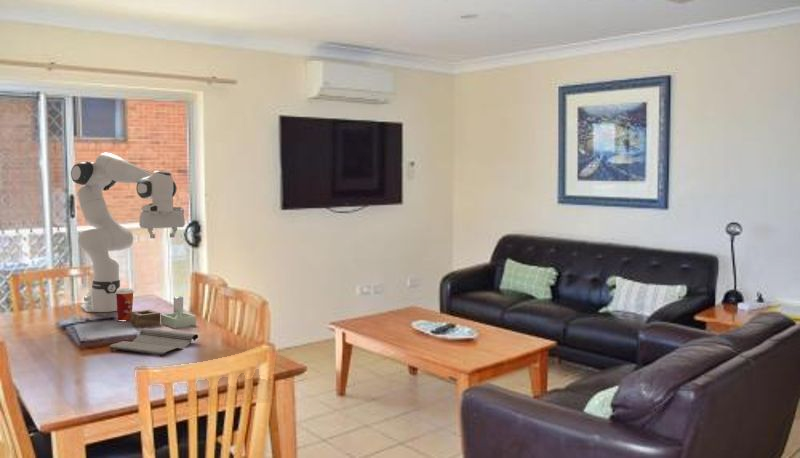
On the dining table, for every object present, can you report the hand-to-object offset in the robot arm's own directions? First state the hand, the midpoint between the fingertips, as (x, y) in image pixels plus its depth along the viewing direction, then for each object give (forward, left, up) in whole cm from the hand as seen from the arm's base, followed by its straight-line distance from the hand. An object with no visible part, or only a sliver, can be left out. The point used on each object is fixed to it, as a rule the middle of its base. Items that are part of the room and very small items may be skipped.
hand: (162, 237), depth 299 cm
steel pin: (+14, 0, -36) cm, 39 cm away
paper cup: (-7, -14, -37) cm, 40 cm away
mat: (+44, -26, -38) cm, 63 cm away
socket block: (+5, -10, -37) cm, 39 cm away
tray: (+14, 0, -37) cm, 40 cm away
